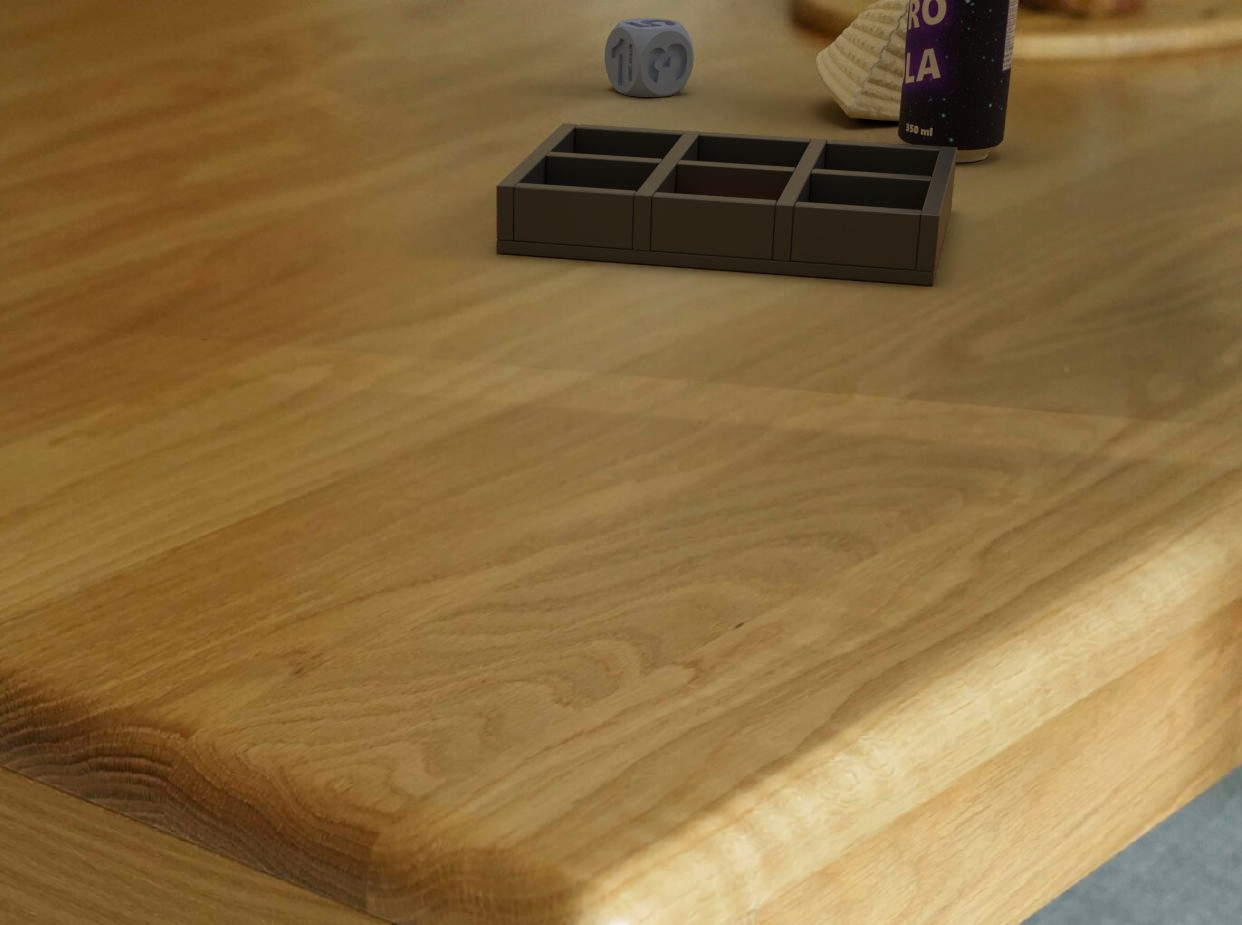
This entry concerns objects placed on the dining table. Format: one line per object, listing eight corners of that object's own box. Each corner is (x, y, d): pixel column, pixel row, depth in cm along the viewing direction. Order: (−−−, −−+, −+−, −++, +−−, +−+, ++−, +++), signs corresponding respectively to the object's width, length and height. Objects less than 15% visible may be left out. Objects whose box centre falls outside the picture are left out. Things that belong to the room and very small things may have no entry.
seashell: (981, 63, 124) (986, 13, 116) (907, 184, 124) (906, 143, 116) (865, 0, 125) (862, -53, 117) (792, 120, 126) (783, 76, 118)
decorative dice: (603, 88, 127) (604, 20, 125) (657, 82, 129) (659, 15, 127) (638, 100, 124) (640, 31, 122) (693, 93, 126) (695, 26, 124)
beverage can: (925, 137, 116) (945, -89, 111) (1018, 151, 113) (1044, -80, 108) (878, 155, 112) (896, -78, 107) (973, 171, 109) (998, -69, 104)
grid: (951, 210, 102) (957, 147, 100) (932, 285, 90) (939, 215, 89) (561, 183, 106) (562, 122, 104) (496, 253, 94) (496, 185, 93)
